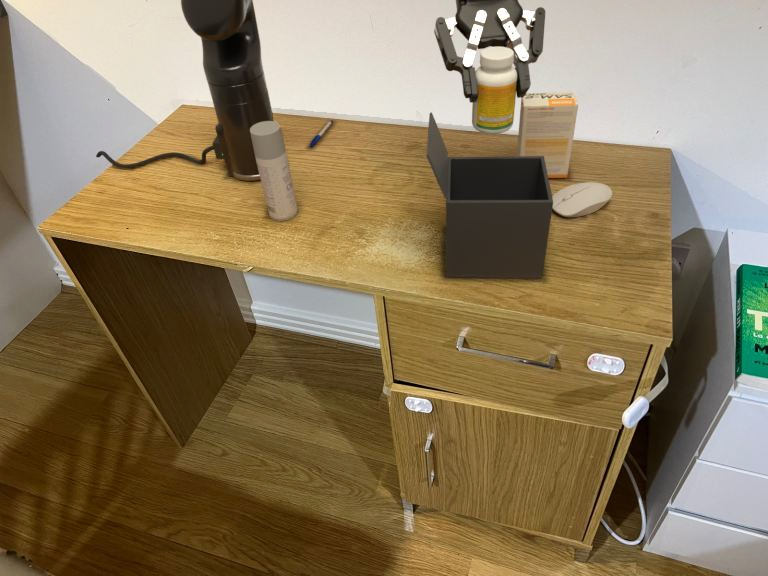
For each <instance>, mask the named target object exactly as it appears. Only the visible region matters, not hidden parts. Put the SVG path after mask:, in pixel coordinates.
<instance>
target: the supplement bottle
mask: <svg viewBox="0 0 768 576" xmlns="http://www.w3.org/2000/svg"><path fill="white" fill-rule="evenodd" d="M513 62H514V52H513V50H512V49H510V48H507V47H491V46H490V47H487V48H484V49H481V52H480V53H479V64H480V66H479V67H477V68H476V69H475V74H476V82H477V90H478V98H477V101H476V102H472V108H471V125H472V127H473V128H474V130H475V131H478V132H480V133H483V134H488V135H498V134H503V133H505V132H508V131H509V130H511V128H512V127H513V125H514V121H515V120H514V119H515V107H516V98H517V93H516V87H517V71H516V70H515V66H513V65H514V64H513Z"/></svg>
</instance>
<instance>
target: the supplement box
mask: <svg viewBox="0 0 768 576" xmlns="http://www.w3.org/2000/svg"><path fill="white" fill-rule="evenodd" d="M520 99H521V100H520V110H519V123H518V135H517V147H516V156H544V159H545V164H546V169H547V174H548V179H567V178H568V175H569V170H570V169H569V168H570V162H571V155H572V150H573V142H574V135H575V130H576V123H577V115H578V110H579V103H578V101H577V98H576V95H575V92H574V91H560V92H559V91H557V92H556V91H555V92H529V93H528V92H526V94H525V96H524V97H521V98H520Z"/></svg>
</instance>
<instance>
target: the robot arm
mask: <svg viewBox="0 0 768 576" xmlns="http://www.w3.org/2000/svg"><path fill="white" fill-rule="evenodd" d="M180 5H181V6H180V7H181V12H182V14H183V17H184V20H185V22H186V23H187V25H188V26H189V28H190V29H191V31H193V33H194V34H196V35H197V36H198V37H200V40H201V47H202V67H203V72H204V75H205V79H206V82H207V85H208V89H209V94H210V97H211V100H212V103H213V109H214V111H215V115H216V120H217V124H216V125H215V133H216V136H215V138H214V139H213V141H212V143H211V144H212V145H210V146H208V147H206V148H205V149H204V150H202V152H201V159H195V158H193V157H191V156H190V155H187V154H185V153H181V152H173V151H172V152H166V153H161V154H158V155H155V156H152V157H149V158H147V159H144V160H140V161H137V162H134V163H127V164H126V163H119V162H118V161H116V160H114V159H113V158H112V157H111V156H110V155H109V154H108V153H107V152H106V151H104V150H99V151H98V152H97V153H96V155H95V157H96V158H100V157H102V156H103V158H105V159H106V161H108V162H109V163H110V164H111V165H113V166H115V167H117V168H120V169H135V168H138V167H141V166H145V165H147V164H151V163H153V162H155V161H159V160H161V159H165V158H170V157H171V158H172V157H178V158H181V159H184V160H187V161H189V162H191V163H194V164H197V165H203V164H206V161H207V155H208V154H209V153H210V152H211V151H213V152H214V154H215V158H216V160H223V161H224V165H225V169H226V172H227V176H228V177H232V178H233V177H234V178H236V179H238V180H239V181H240V180H241V181H245V182H256V181H261V179H260V175H259V171H258V166H257V162H256V158H255V153H254V148H253V143H252V139H251V134H250V128H251V127H252V126H253V125H255V124H257V123H259V122H263V121H274V122H275V119H274V118H275V117H274V115H273V114H274V113H273V109H272V104H271V100H270V94H269V89H268V85H267V80H266V75H265V70H264V65H263V59H262V46H261V38H260V33H259V28H258V27H259V26H258V23H257V17H256V11H255V6H254V1H253V0H180ZM455 5H456V13H455V16H453V17H450V18H444V17H443V16H439V17H438V18H436V20H435V25H434V29H433V33H434V35H435V39H436V42H437V45H438V48H439V51H440V55H441V57H442V61H443V63H444V68H445V70H446V71H448V72H453V71H455V72H458V73H459V74H460V76H461V83H462V92H463V96H464V98H465V99H468V101H469V103H472V104H473V102H476V101H477V98H478V90H477V82H476V74H475V71H476V67H475V66H473V63H474V60H475V57H476V53H477V50H484V49H486V48H489V47H507V48H510V49H512V50H513V52H514V62H513V64H512V65H514V68H515V70H516V71H517V87H516V98H517V99H521V98H522V97H524V96H525V94H526V93H528V91H529V90H530V88H531V84H532V81H531V75H530V67H529V66H530V64H534V63H537V61H538V60H539V57H540V56H541V55H542V53H543V52H544V50H543V49H544V37H545V25H546V23H545V22H546V10H545V9H546V8H544V7H542V6H540V7H537V8H536V9H535V10H528V9H523V7H522V5H521V4H520V2H519V0H455ZM520 22H523V23H524V26H525V29H526V30H527V31H529V38H528V49H526V47H525V45H524V44H523V40H522V37H521V35H520V33H519V31H518V30H517V28H518V26H519V24H520ZM455 28H456V29H457V31H459V33H460V34H461V35H462V36H463V37H464V38H465V39H466V40H467V45H466V48H465V52H464V55H463V57H462V56H458V54H457V51H456V48H455V45H454V42H453V39H452V38H453V36H454V32H455V31H454V30H455Z"/></svg>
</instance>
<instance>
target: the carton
mask: <svg viewBox="0 0 768 576" xmlns="http://www.w3.org/2000/svg"><path fill="white" fill-rule="evenodd" d="M549 179H550V178H548V174H547V169H546V164H545V159H544V156H517V155H514V156H512V155H511V156H448V173H447V197H446V198H445V278H446V279H511V280H512V279H513V280H515V279H517V280H518V279H519V280H521V279H522V280H524V279H525V280H542V279H543V273H544V267H545V259H546V253H547V248H548V240H549V233H550V226H551V220H552V214H553V209H552V207H553V198H552V196H553V194H552V193H553V192H552V190H551V189H552V188H551V184H550V180H549Z"/></svg>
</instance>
